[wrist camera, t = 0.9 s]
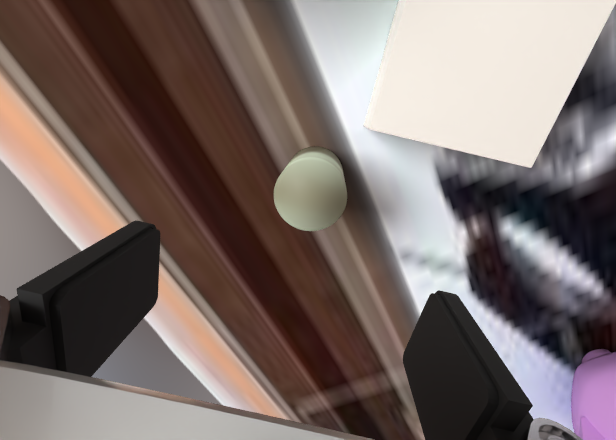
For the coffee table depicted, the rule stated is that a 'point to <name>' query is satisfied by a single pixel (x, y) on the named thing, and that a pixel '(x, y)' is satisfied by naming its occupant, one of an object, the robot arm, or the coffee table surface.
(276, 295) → the coffee table surface
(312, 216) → the green domed cylinder
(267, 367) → the coffee table surface
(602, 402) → the teapot
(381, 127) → the base
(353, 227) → the coffee table surface
